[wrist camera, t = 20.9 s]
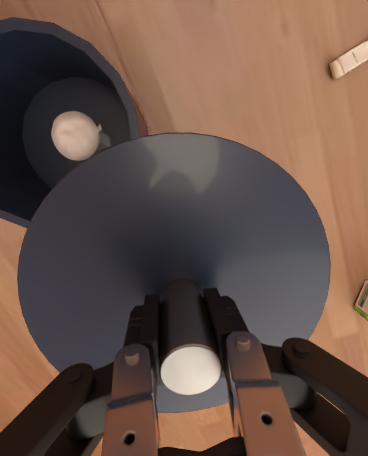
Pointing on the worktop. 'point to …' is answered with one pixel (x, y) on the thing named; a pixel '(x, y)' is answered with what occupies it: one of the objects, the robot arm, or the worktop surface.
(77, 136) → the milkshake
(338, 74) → the toy measuring tape
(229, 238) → the tin lid
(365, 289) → the syrup box
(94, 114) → the tin
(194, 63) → the worktop surface
